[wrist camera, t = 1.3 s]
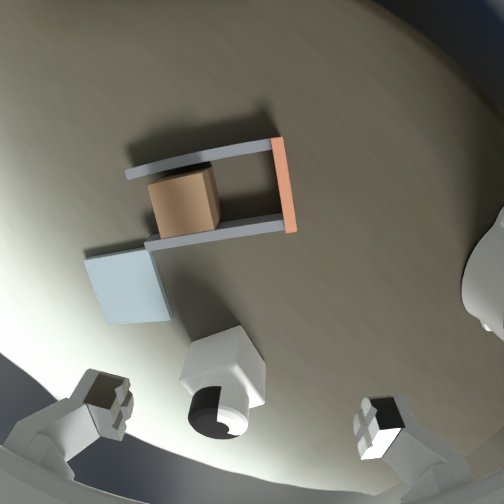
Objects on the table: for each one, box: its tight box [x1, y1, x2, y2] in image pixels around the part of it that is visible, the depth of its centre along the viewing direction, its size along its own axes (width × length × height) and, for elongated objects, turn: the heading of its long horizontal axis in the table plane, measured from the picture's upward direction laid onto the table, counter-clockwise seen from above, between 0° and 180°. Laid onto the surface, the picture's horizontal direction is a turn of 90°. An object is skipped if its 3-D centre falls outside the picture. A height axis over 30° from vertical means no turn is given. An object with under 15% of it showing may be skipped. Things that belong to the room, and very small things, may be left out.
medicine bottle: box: [180, 325, 266, 439], centre depth 32 cm, size 7×7×12 cm
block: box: [148, 167, 222, 239], centre depth 28 cm, size 5×5×5 cm
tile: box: [84, 247, 173, 325], centre depth 34 cm, size 9×9×1 cm
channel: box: [125, 137, 297, 252], centre depth 29 cm, size 15×8×4 cm, turn 100°
